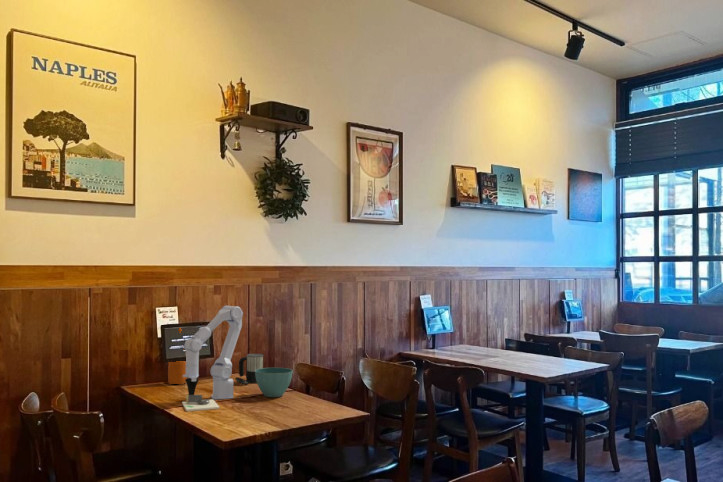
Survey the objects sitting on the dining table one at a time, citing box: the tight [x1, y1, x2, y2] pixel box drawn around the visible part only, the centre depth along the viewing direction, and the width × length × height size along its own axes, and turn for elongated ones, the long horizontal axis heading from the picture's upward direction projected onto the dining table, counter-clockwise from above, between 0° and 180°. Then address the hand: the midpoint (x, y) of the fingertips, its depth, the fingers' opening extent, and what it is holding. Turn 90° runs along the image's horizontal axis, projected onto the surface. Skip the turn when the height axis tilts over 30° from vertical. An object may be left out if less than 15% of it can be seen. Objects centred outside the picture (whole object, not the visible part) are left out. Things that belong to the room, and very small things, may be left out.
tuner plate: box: [181, 398, 220, 412], centre depth 269 cm, size 14×17×1 cm
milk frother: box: [234, 353, 264, 386], centre depth 326 cm, size 14×16×15 cm
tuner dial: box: [185, 393, 210, 404], centre depth 270 cm, size 11×5×3 cm, turn 83°
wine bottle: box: [167, 327, 188, 385], centre depth 323 cm, size 10×10×30 cm
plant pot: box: [255, 367, 294, 398], centre depth 293 cm, size 18×18×12 cm
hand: (191, 394), depth 275 cm, fingers closed
